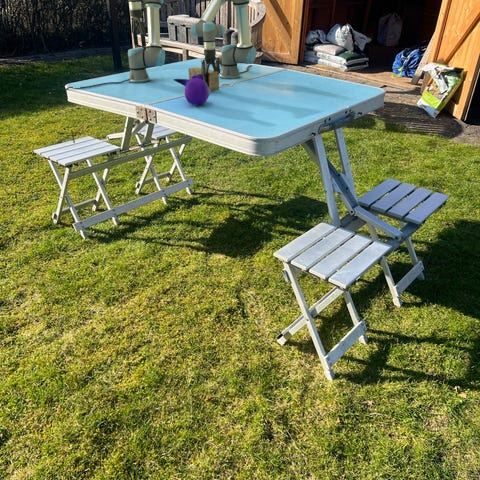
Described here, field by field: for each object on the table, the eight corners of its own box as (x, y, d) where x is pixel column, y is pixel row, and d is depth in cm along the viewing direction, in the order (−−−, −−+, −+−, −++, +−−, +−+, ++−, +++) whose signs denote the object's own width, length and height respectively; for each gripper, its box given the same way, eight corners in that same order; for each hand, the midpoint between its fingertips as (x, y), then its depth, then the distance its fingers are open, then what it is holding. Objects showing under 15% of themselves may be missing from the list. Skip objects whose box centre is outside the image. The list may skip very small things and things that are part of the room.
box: (189, 86, 315) (188, 68, 309) (197, 85, 319) (196, 67, 313) (211, 91, 298) (210, 72, 292) (219, 90, 302) (218, 71, 296)
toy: (197, 96, 290) (209, 111, 269) (171, 92, 283) (181, 106, 262) (203, 71, 282) (215, 85, 261) (175, 66, 275) (186, 79, 254)
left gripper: (148, 9, 275) (153, 47, 286) (134, 8, 293) (138, 43, 304) (137, 10, 272) (141, 48, 282) (123, 8, 290) (128, 44, 301)
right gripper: (200, 51, 282) (202, 88, 293) (225, 47, 293) (226, 84, 304) (193, 50, 287) (196, 87, 298) (218, 46, 298) (219, 82, 309)
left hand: (140, 45), depth 293 cm, fingers open, 13 cm apart
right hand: (211, 85), depth 301 cm, fingers open, 7 cm apart
